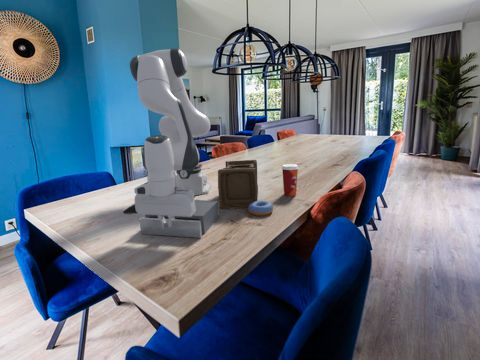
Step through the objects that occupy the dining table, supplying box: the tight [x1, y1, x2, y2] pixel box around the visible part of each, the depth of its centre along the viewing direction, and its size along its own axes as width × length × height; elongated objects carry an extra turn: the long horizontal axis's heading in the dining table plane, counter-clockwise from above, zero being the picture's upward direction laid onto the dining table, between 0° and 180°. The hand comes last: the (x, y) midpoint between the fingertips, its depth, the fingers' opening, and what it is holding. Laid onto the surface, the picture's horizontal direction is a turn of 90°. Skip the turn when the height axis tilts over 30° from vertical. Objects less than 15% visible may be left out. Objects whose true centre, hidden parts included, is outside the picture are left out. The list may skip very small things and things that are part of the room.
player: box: [144, 199, 220, 235], centre depth 109 cm, size 16×22×6 cm
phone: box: [122, 203, 139, 215], centre depth 130 cm, size 8×1×15 cm
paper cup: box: [281, 163, 299, 197], centre depth 137 cm, size 8×8×14 cm
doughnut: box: [247, 200, 274, 217], centre depth 117 cm, size 10×10×5 cm
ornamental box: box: [217, 159, 259, 210], centre depth 137 cm, size 35×18×18 cm, turn 176°
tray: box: [138, 217, 203, 239], centre depth 105 cm, size 16×22×6 cm
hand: (167, 227), depth 97 cm, fingers closed, pressing on tray
